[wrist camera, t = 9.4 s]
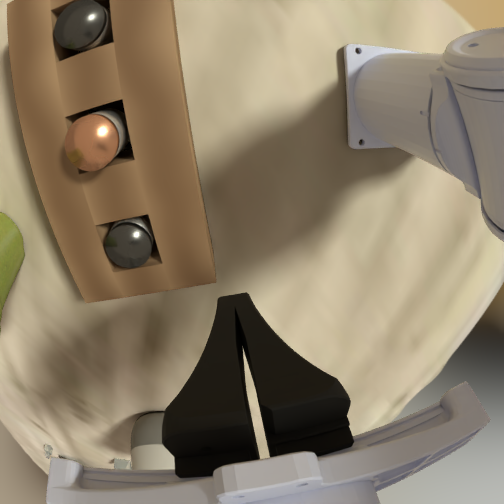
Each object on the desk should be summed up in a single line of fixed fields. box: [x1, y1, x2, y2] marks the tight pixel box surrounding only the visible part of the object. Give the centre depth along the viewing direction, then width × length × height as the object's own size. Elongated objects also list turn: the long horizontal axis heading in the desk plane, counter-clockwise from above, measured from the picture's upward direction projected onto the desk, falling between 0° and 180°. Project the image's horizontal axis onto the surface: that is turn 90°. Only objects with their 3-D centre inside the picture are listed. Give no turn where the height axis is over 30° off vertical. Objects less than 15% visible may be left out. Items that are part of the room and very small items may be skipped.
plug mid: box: [65, 108, 130, 171], centre depth 15 cm, size 3×3×4 cm
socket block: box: [7, 0, 216, 303], centre depth 16 cm, size 10×22×4 cm, turn 6°
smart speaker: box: [131, 412, 175, 470], centre depth 32 cm, size 10×9×14 cm
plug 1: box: [54, 0, 114, 52], centre depth 12 cm, size 3×3×4 cm
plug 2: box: [105, 214, 155, 268], centre depth 20 cm, size 3×3×4 cm
